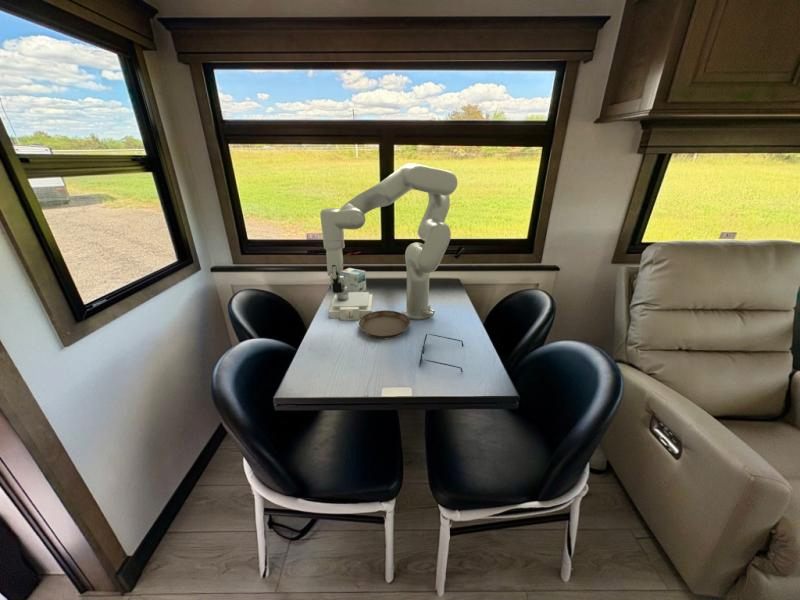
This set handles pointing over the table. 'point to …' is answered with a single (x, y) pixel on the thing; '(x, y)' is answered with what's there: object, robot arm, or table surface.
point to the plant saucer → (384, 324)
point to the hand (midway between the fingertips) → (338, 288)
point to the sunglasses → (434, 361)
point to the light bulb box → (355, 280)
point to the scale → (352, 306)
